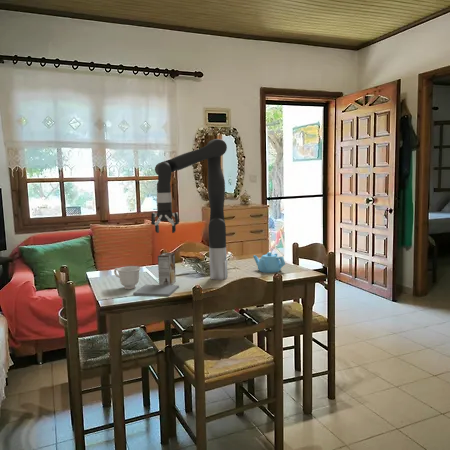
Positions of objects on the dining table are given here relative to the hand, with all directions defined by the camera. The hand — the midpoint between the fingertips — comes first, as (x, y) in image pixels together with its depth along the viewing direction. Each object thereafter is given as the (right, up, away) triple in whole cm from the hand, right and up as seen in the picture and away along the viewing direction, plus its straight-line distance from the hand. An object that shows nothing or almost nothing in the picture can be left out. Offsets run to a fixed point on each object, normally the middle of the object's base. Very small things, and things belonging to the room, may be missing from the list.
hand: (165, 232), depth 222 cm
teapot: (+57, -23, +29) cm, 68 cm away
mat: (-3, -29, -10) cm, 31 cm away
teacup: (-19, -28, -1) cm, 34 cm away
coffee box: (+1, -27, +3) cm, 28 cm away
